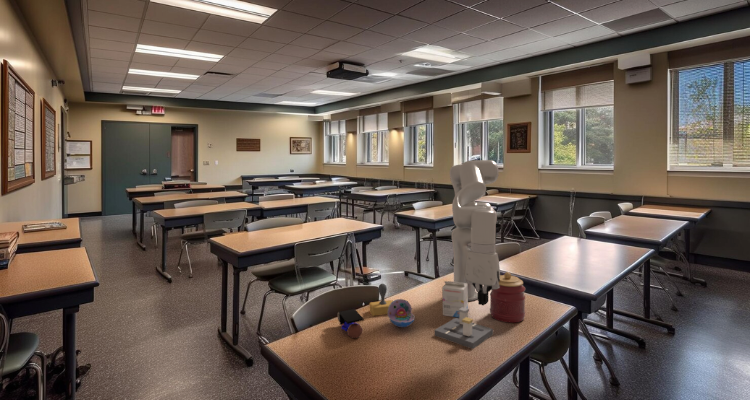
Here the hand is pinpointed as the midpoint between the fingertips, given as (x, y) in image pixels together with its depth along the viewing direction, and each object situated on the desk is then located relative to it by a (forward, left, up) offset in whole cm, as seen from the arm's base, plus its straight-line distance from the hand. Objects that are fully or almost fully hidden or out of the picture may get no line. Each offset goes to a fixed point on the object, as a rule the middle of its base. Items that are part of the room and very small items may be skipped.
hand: (482, 303), depth 125 cm
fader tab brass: (-6, 0, -12) cm, 14 cm away
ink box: (-22, +19, -15) cm, 32 cm away
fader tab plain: (-11, +7, -12) cm, 18 cm away
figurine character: (-42, -20, -15) cm, 49 cm away
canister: (-5, +29, -15) cm, 33 cm away
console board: (-9, +4, -15) cm, 18 cm away
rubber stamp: (-45, +1, -15) cm, 47 cm away
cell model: (-31, -4, -15) cm, 34 cm away
